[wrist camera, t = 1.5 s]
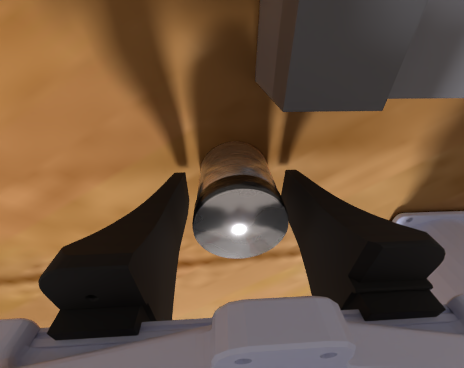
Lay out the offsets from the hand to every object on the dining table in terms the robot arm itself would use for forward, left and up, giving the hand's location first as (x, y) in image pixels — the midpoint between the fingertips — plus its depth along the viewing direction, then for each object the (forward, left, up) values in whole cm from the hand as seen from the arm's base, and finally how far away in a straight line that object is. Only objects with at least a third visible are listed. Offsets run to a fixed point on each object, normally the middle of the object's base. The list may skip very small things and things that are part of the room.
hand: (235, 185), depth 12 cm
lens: (0, 0, -2) cm, 2 cm away
